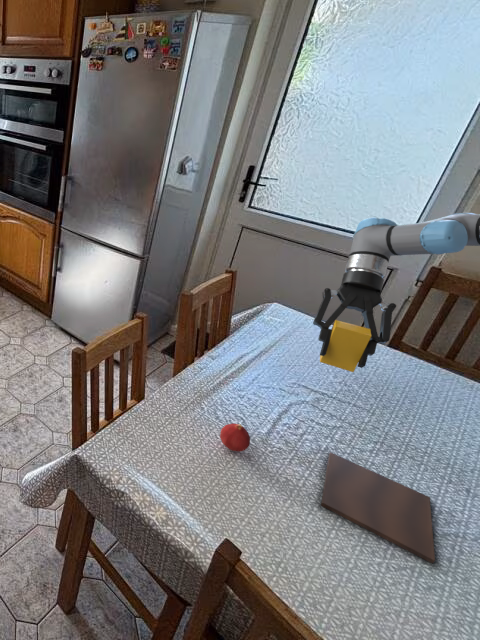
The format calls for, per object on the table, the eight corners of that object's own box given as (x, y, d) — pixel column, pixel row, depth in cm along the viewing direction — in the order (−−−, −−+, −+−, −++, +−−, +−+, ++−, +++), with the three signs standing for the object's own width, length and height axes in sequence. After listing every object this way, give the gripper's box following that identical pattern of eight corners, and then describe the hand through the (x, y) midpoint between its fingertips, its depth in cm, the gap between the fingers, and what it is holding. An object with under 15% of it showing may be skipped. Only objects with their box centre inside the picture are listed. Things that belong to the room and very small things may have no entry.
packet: (352, 364, 103) (370, 328, 98) (353, 372, 101) (371, 336, 96) (320, 354, 107) (335, 319, 102) (319, 362, 104) (335, 326, 100)
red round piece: (218, 434, 100) (226, 410, 97) (246, 445, 97) (255, 421, 93) (215, 451, 96) (223, 426, 92) (244, 463, 93) (254, 439, 89)
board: (427, 500, 84) (429, 497, 84) (432, 564, 74) (435, 560, 74) (328, 454, 94) (330, 451, 94) (320, 505, 84) (322, 502, 83)
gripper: (410, 291, 102) (390, 379, 97) (312, 270, 113) (289, 348, 108) (424, 281, 96) (403, 374, 91) (318, 260, 107) (295, 342, 102)
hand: (341, 360), depth 100 cm, fingers closed on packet, 6 cm apart
